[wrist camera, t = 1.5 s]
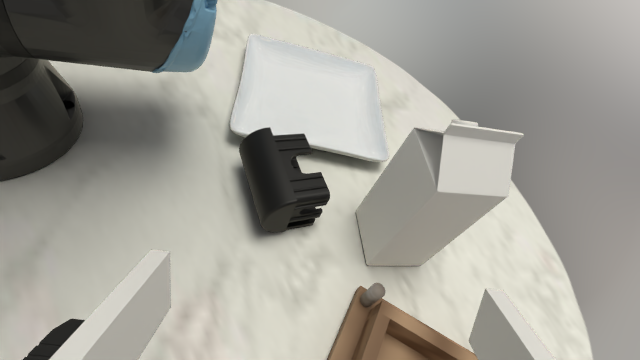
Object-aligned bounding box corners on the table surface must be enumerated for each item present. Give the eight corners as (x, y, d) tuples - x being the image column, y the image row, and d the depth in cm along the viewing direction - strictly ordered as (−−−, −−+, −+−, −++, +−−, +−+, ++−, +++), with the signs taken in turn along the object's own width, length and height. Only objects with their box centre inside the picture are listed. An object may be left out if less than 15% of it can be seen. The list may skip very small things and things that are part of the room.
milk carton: (420, 266, 42) (544, 168, 27) (365, 266, 40) (467, 159, 25) (405, 214, 46) (505, 104, 31) (354, 211, 44) (437, 92, 29)
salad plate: (382, 176, 49) (392, 160, 47) (225, 147, 44) (228, 128, 42) (367, 80, 62) (375, 64, 59) (245, 50, 57) (248, 31, 54)
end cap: (235, 166, 43) (241, 127, 38) (290, 161, 46) (303, 124, 41) (256, 240, 38) (266, 206, 33) (316, 228, 41) (334, 196, 36)
